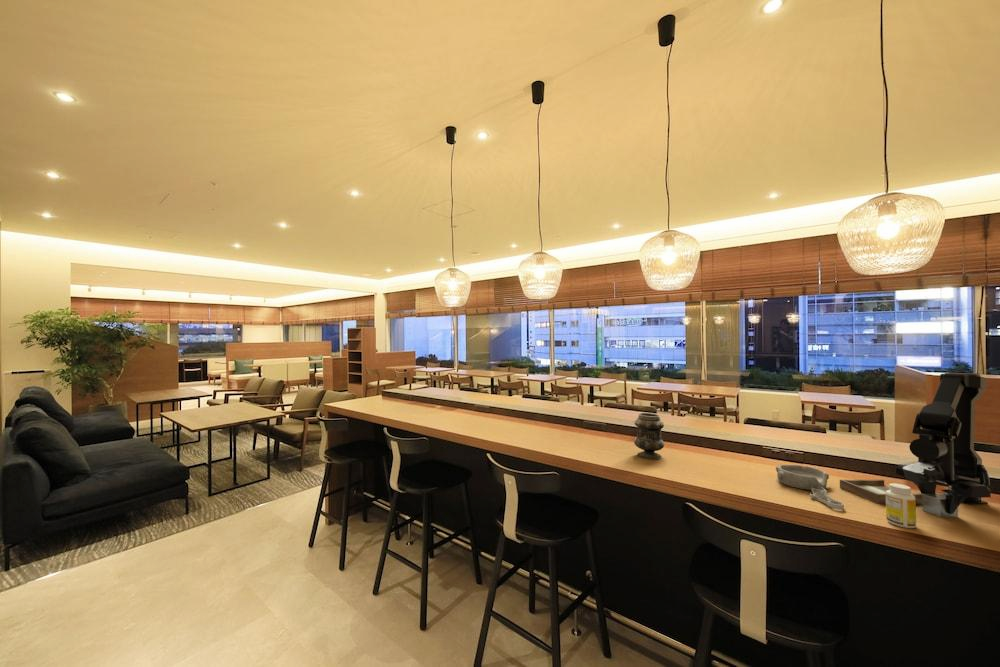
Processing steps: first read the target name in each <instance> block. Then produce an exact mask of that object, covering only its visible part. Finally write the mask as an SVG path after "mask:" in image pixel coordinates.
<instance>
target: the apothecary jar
mask: <svg viewBox="0 0 1000 667" xmlns="http://www.w3.org/2000/svg"><path fill="white" fill-rule="evenodd" d="M634 426H636V427H637V433H636V434H637V435H636V437H635V439H634V440H633V442H634V445H635V446H636V447H637V448H639V449H641V450H643V451H640V452H637V454H636V456H637V457H639V458H641V459H645V460H653V461H654V460H660V459H662V455H661V454H660V453H657V451H661V450H662V449H663V448H664V447H665V443H664V440H663V439H662V429H663V428H664V426H665V424H664V422H663V420H662V419H661V416H660V415H659V414H658V413H651V412H639V413H638V417H637V418H636V419H635V420H634Z"/></svg>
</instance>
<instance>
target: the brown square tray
mask: <svg viewBox="0 0 1000 667" xmlns="http://www.w3.org/2000/svg"><path fill="white" fill-rule="evenodd" d="M839 488H840V489H842V490H844V491H847V492H848V493H852V494H854V495H856V496H858V497H861V498H863V499H866V500H868V501H870V502H872V503H876V504H878V505H879V504H880V505H881V504H882V505H884V504H885V505H886V491H887V490H890V488H889V485H885V480H884V479H839ZM911 494H912V495H913V496H915V499H916V504H921V505H922V493H911Z"/></svg>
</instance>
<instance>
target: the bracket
mask: <svg viewBox="0 0 1000 667" xmlns="http://www.w3.org/2000/svg"><path fill="white" fill-rule="evenodd" d="M810 491H811V493H809V497H810V498H811V499H813V500H815V501H817V502H821V503H822V504H825V505H827V506H828V507H830V508H831V509H835V510H840V511H841V510H844V509H845V507H844V506H845V505H844V502H842V501H839V500H836V499H834V498H831V497H830V496H829V495H828V494H829V493H828V492H829V491H828V490H827V489H825V488H822V487H818V488H817V489H814V488H812V487H811V490H810Z"/></svg>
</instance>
